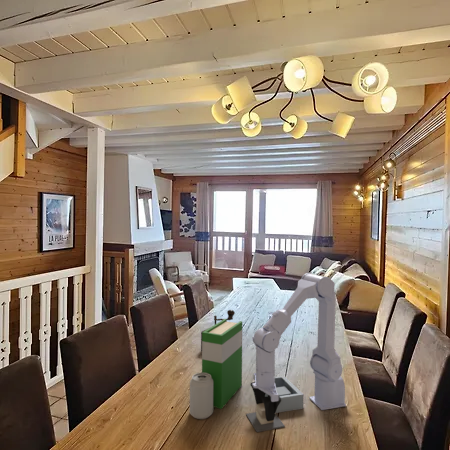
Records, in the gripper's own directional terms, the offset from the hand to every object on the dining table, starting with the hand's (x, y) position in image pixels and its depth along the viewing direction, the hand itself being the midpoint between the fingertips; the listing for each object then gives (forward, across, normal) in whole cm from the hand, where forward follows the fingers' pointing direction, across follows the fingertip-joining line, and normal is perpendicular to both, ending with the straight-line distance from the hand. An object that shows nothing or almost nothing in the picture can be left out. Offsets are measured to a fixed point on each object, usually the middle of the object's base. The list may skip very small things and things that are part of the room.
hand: (264, 413), depth 101 cm
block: (+2, 0, 0) cm, 2 cm away
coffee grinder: (+3, -61, +2) cm, 61 cm away
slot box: (+2, -10, +10) cm, 14 cm away
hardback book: (+3, -19, -8) cm, 21 cm away
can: (+3, -9, -18) cm, 20 cm away
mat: (+2, 0, 0) cm, 2 cm away
